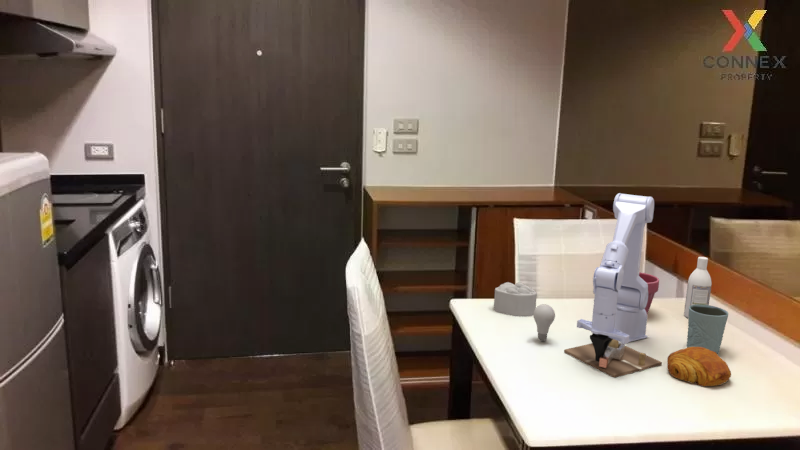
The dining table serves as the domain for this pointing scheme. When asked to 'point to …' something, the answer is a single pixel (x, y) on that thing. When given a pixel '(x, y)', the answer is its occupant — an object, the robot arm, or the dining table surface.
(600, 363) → the square frame with handle
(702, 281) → the bath foam
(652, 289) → the plant pot
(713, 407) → the dining table surface
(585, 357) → the socket base
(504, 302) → the lumpy-topped squat cylinder
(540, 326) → the lightbulb
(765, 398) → the dining table surface
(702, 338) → the embossed teal cup
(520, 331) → the dining table surface
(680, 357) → the croissant
